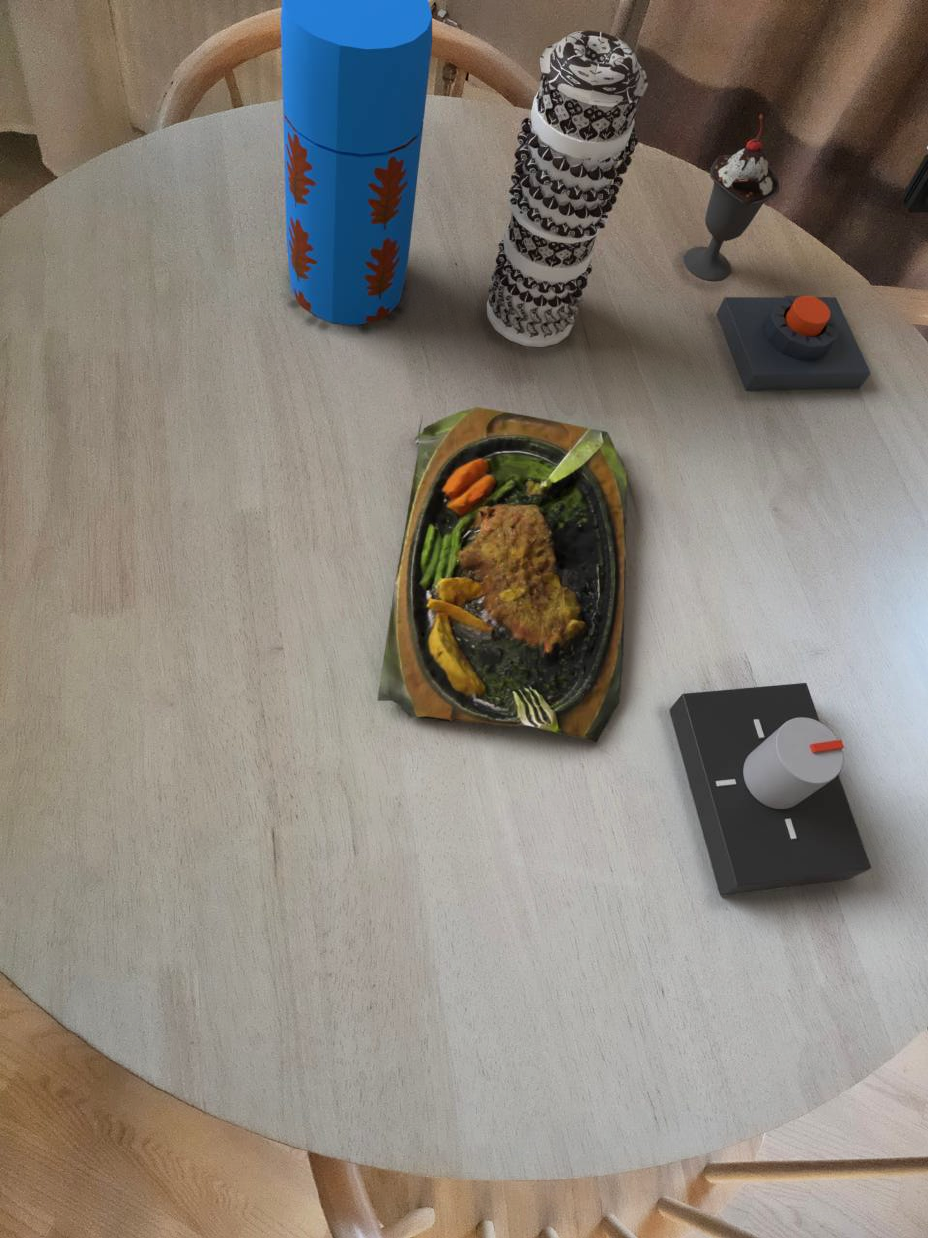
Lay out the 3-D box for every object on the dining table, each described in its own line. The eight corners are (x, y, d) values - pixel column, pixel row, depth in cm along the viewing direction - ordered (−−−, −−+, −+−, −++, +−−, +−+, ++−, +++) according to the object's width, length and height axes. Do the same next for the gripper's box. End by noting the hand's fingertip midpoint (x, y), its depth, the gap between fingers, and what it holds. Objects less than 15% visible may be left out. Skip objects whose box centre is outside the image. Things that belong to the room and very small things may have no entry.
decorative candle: (573, 359, 88) (659, 102, 66) (475, 337, 87) (530, 71, 66) (582, 292, 92) (666, 31, 71) (489, 271, 92) (545, 2, 70)
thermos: (332, 342, 84) (339, 66, 63) (264, 269, 88) (249, -18, 66) (427, 298, 89) (465, 25, 67) (359, 229, 92) (374, -52, 70)
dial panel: (668, 709, 72) (683, 692, 69) (789, 698, 74) (807, 681, 71) (719, 896, 65) (737, 886, 62) (850, 879, 67) (873, 868, 64)
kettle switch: (814, 309, 90) (823, 295, 89) (827, 337, 89) (836, 323, 87) (780, 309, 90) (788, 295, 88) (792, 337, 88) (800, 323, 87)
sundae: (704, 233, 99) (763, 96, 86) (750, 272, 97) (818, 138, 84) (661, 255, 97) (716, 117, 84) (708, 296, 95) (771, 161, 82)
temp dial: (755, 814, 65) (792, 786, 60) (734, 751, 67) (768, 720, 62) (815, 804, 66) (856, 776, 61) (792, 743, 68) (830, 711, 63)
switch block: (825, 313, 96) (845, 282, 92) (859, 389, 91) (881, 359, 88) (715, 314, 94) (731, 282, 90) (745, 391, 89) (762, 360, 85)
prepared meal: (634, 729, 66) (379, 691, 64) (619, 749, 69) (374, 713, 67) (630, 431, 81) (422, 394, 79) (618, 458, 84) (417, 422, 82)
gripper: (1182, 26, 58) (1000, 269, 73) (1071, -100, 65) (927, 147, 81) (1074, 22, 56) (913, 271, 72) (973, -106, 63) (847, 146, 79)
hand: (921, 205), depth 76 cm, fingers closed
